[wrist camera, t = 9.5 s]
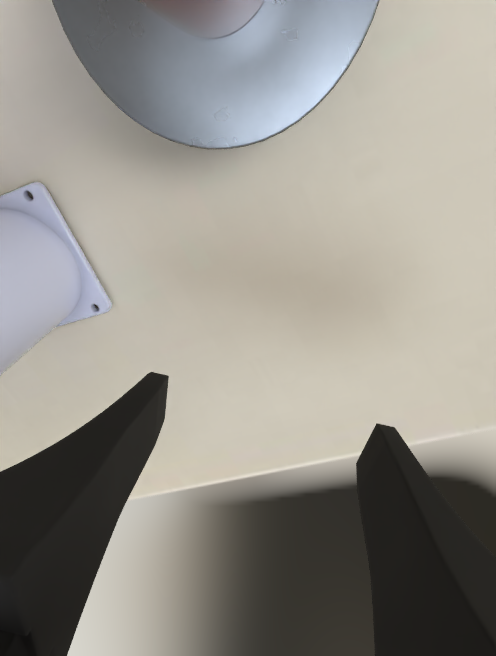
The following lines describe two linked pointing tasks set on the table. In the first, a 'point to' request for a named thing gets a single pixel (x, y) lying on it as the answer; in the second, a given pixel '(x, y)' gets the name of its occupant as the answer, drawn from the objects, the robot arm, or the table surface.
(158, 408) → the robot arm
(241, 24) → the spice jar
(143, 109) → the steel stand
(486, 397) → the table surface
